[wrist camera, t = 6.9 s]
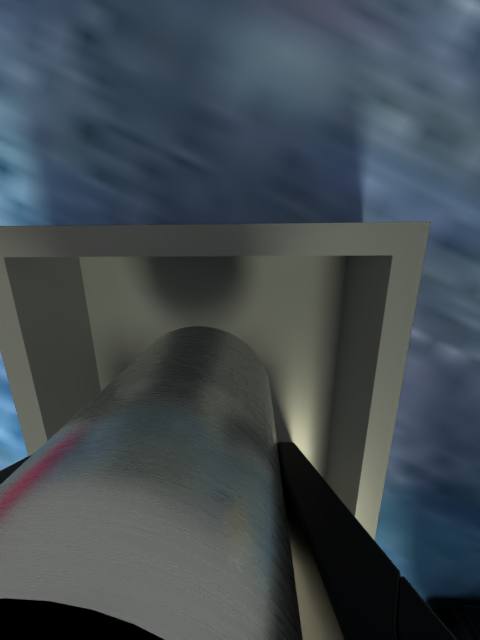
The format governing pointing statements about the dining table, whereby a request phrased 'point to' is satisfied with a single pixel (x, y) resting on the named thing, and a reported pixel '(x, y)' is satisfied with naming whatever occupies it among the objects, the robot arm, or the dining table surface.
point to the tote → (224, 324)
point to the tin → (155, 508)
